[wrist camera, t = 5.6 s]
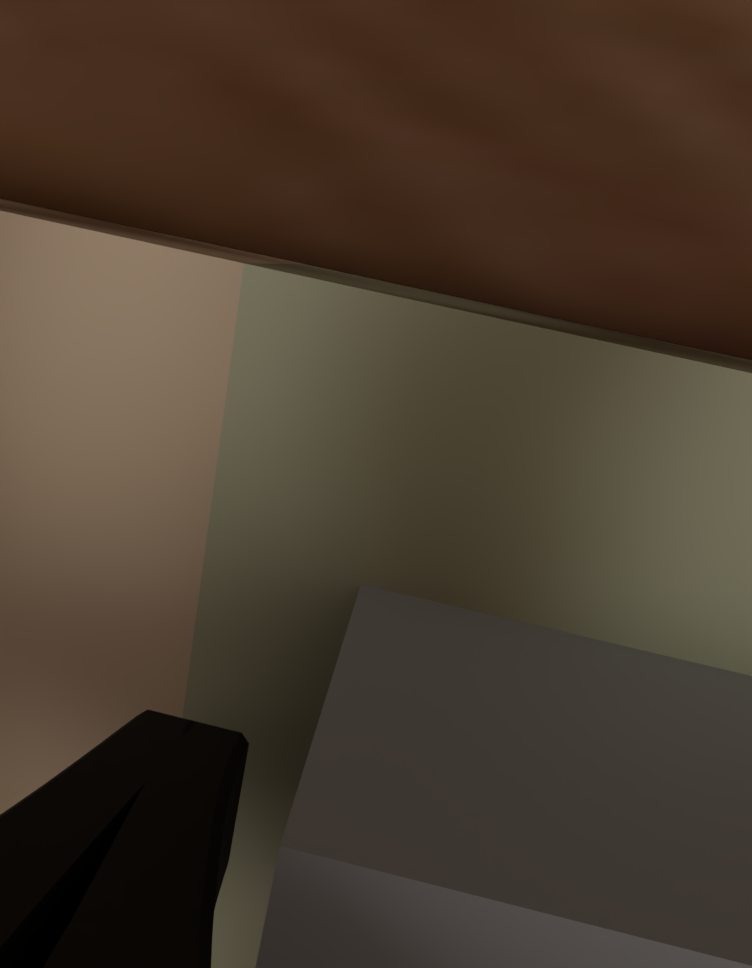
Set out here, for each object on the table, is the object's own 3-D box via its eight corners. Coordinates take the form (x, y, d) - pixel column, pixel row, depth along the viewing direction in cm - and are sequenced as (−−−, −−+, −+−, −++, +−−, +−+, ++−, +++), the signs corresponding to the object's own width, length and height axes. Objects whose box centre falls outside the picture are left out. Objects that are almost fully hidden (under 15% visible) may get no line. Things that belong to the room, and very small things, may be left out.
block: (778, 682, 8) (1056, 1044, 4) (643, 986, 10) (760, 1446, 6) (360, 584, 8) (279, 846, 5) (293, 896, 10) (191, 1284, 6)
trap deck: (1484, 517, 10) (1917, 625, 7) (1044, 1098, 13) (1204, 1326, 10) (-655, 57, 11) (-1043, -15, 8) (-508, 697, 15) (-738, 799, 12)
